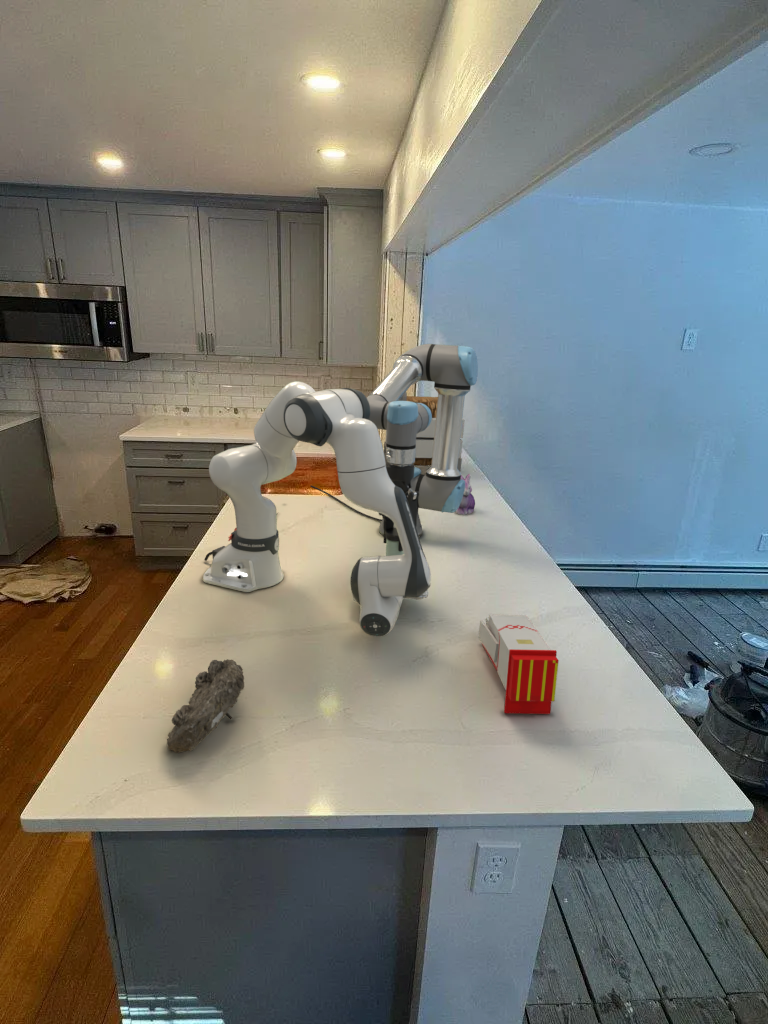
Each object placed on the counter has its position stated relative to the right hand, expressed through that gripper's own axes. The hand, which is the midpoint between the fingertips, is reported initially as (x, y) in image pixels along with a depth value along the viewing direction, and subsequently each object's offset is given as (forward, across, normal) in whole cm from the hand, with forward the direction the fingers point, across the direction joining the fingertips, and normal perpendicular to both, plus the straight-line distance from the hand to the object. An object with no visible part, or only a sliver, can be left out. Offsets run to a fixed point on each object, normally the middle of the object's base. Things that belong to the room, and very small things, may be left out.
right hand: (395, 545), depth 153 cm
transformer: (+14, -89, +88) cm, 126 cm away
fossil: (+14, +20, -60) cm, 65 cm away
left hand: (+8, -1, +1) cm, 8 cm away
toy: (+14, +43, -1) cm, 46 cm away
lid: (-4, 0, 0) cm, 4 cm away
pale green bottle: (+14, 0, 0) cm, 14 cm away
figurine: (+14, -38, +67) cm, 78 cm away
